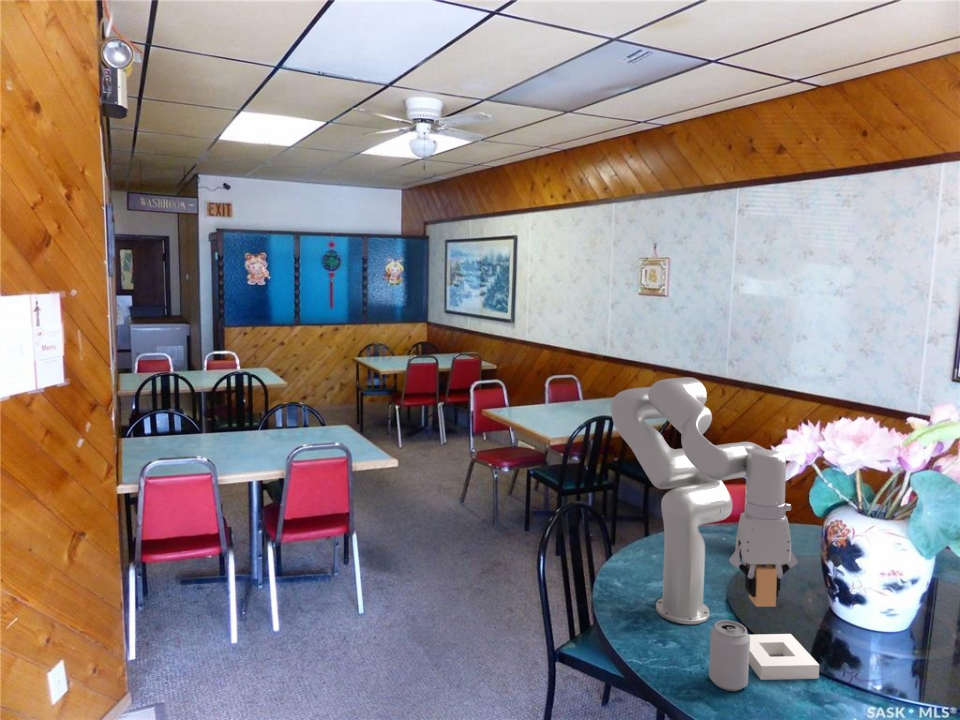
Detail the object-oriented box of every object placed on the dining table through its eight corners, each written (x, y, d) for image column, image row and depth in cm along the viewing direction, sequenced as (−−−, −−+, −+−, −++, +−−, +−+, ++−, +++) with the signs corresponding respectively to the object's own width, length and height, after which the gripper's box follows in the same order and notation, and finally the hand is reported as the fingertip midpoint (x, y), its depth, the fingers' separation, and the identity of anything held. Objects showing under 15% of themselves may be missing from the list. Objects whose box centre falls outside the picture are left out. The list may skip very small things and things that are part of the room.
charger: (749, 597, 143) (750, 561, 142) (767, 597, 143) (769, 561, 142) (756, 606, 139) (757, 569, 138) (775, 606, 139) (776, 568, 138)
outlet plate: (736, 647, 149) (737, 634, 148) (790, 646, 149) (790, 633, 149) (760, 679, 137) (761, 666, 136) (818, 678, 137) (819, 665, 137)
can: (738, 671, 140) (741, 617, 138) (754, 693, 132) (757, 636, 131) (703, 671, 140) (705, 617, 138) (717, 694, 132) (719, 637, 131)
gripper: (797, 503, 142) (794, 586, 144) (718, 504, 143) (716, 586, 145) (813, 515, 135) (810, 602, 137) (730, 516, 135) (728, 602, 137)
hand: (762, 593), depth 141 cm, fingers closed on charger, 4 cm apart
